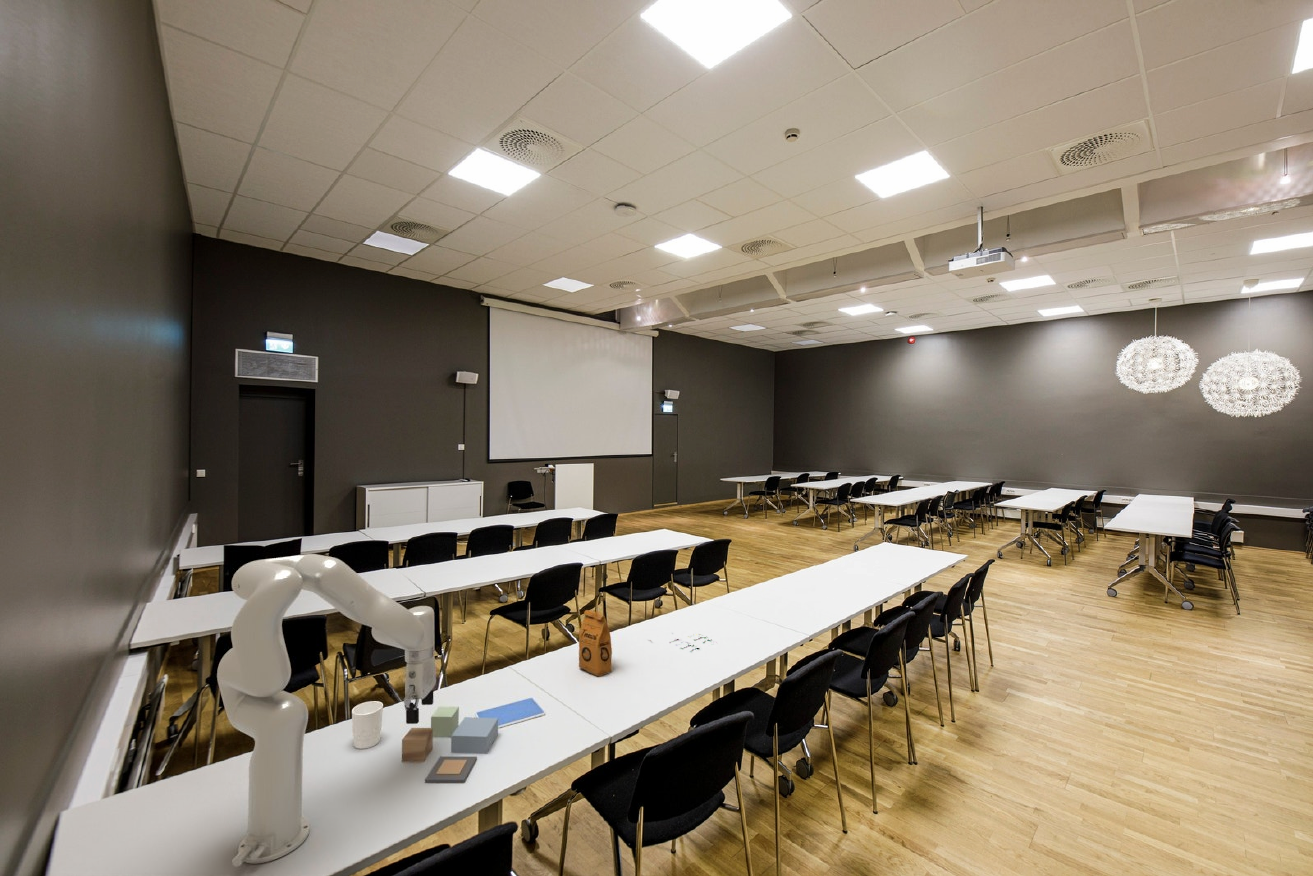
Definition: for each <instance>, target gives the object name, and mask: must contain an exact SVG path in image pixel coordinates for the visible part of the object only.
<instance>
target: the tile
mask: <svg viewBox="0 0 1313 876" xmlns="http://www.w3.org/2000/svg"><path fill="white" fill-rule="evenodd" d="M477 760H478V756H462V755H461V756H459V755H457V756H453V755H451V756H450V755H448V756H442V755H441V756H439V758H438V759H437V760H436V762H435V764H434V765H433V766H432V768H431V770H430V771H429V773H428V774H427V776H426V777H425V779H424V783H426V784H429V783H430V784H431V783H432V784H434V783H435V784H439V783H441V784H464V783H465V782H466V781H467V778H468V777H469V775H470V773H471V771H472V769H473V768H474V765H475V763H476V762H477Z"/></svg>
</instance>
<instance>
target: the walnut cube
mask: <svg viewBox="0 0 1313 876" xmlns="http://www.w3.org/2000/svg"><path fill="white" fill-rule="evenodd" d="M433 749H434V737H433V728H431V727H411V728H410V729H409V731H408V732H406V734H405V736H404V737H403V738H402V739H401V762H407V763H408V762H410V763H411V762H413V763H415V762H420V763H421V762H422V763H423V762H425V761H426V759H427V758H428V756H429V755H430V754H431V752H432V751H433Z"/></svg>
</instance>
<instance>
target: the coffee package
mask: <svg viewBox="0 0 1313 876" xmlns="http://www.w3.org/2000/svg"><path fill="white" fill-rule="evenodd" d="M583 614H584V618H583V620H582V622H581V623H582V624H581V626H580V629H579V631H578V633H579V634H578V639H579V640H578V648H579V649H578V668H580V669H582V670H584V671H587V672H588V673H589V674H591V675H593V676H597V677H598V678H599V677H601V676H604V675H607V674H610V673H612V656H613V651H612V650H613V649H612V638H611V633H610V632H611V631H610V629H609V628H610V627H609V626H608V621H607V619H606V617H605V615H603V614H601V613H600V612H599V613H598V612H596V611H592V610H588V609H586V610H584V612H583ZM606 673H607V674H606Z"/></svg>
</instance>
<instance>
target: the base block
mask: <svg viewBox="0 0 1313 876" xmlns="http://www.w3.org/2000/svg"><path fill="white" fill-rule="evenodd" d="M498 734H499V728H498V718H476V716H475V717H474V716H473V717H472V716H469V717H467V716H465V717H464V718H463V720H462V721H461V722H460V723H459V724H458V727H457V729H456V730H455V731H454V733H453V734H452V736H451V737H450V741H451V742H450V743H451V744H450V752H451V753H455V754H484V755H486V754H488V751H490V748H491V746H492V744H493V743H494V742H495V740H496V738H497V736H498Z"/></svg>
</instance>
